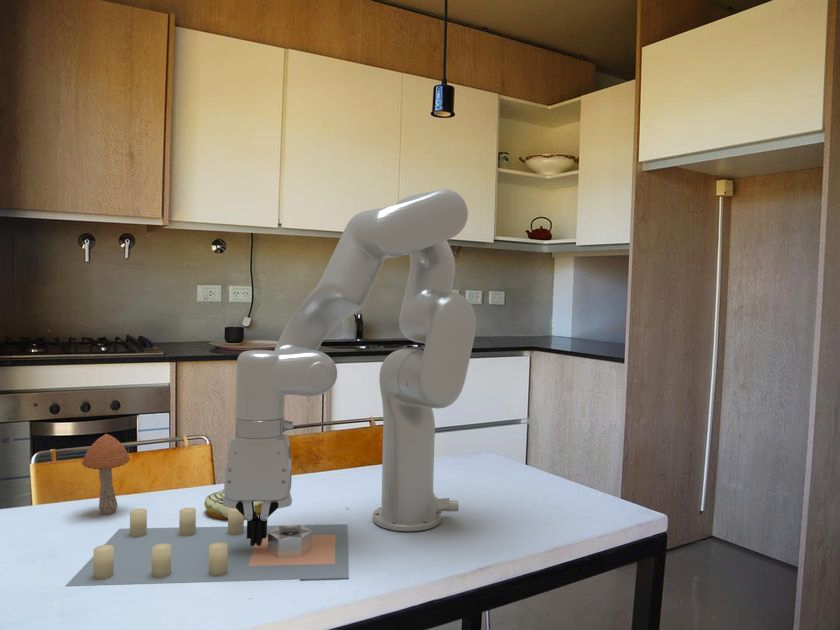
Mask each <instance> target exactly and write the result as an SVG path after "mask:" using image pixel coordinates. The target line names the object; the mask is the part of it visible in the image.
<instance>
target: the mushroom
mask: <svg viewBox="0 0 840 630" xmlns="http://www.w3.org/2000/svg"><path fill="white" fill-rule="evenodd" d="M130 460H131V458H130V456H129V453H128V451H127V449H126V448H125V446H124V445H123V444H122V443H121V442H120V441H119V440H118V439H117V438H115V437H114V436H113V435H111V434H107V433H105V434H104V435H102V436H100V437H98V438H97V439H96V440H95V441H94V442H93V443H92V444H91V446H90V447H89V448H88V449H87V451H86V453H85V455H84V457H83V459H82V461H81V465H82V466H83V467H85V468H88V469H90V470H91V469H92V470H98V475H99V484H100V489H99V490H100V491H99V499H98V500H99V502H98V510H99V512H100V514H101V515H104V516H109V515H114V514H115V513H116V512H117V510H118V509H117V508H118V502H117V497H116V493H115V490H114V486H113V485H114V484H113V473H112V472H113V471H112V470H113V469H115V468H118V467H122V466H125V465H126V464H127V463H129V462H130Z"/></svg>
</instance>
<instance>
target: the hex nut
mask: <svg viewBox="0 0 840 630" xmlns="http://www.w3.org/2000/svg"><path fill="white" fill-rule="evenodd" d="M302 525H303V524H295V525H294V524H291V525H289V524H287V525H286V526H278V525H277V526H278V527H277V528H275V529H274V530H272V531H270V532H269V533H268V552H269V553H271V554H272V555H274V556H275V557H277V558H278V559H280V558H299V557H302V556H303V555H305V554H306V553H307V552H309V551H310V550H311V549H312V531H311V530H309V529H308V528H306V527H304V526H302Z"/></svg>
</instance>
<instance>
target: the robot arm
mask: <svg viewBox="0 0 840 630" xmlns="http://www.w3.org/2000/svg"><path fill="white" fill-rule="evenodd" d="M468 217H469V209H468V205H467V203H466V202H465V199H464V198H463V197H462V196H461V195H460V193H458V192H456V191H454V190H452V189H451V190H450V189H444V188H442V189H441V188H440V189H436V190H431V191H427V192H423V193H422V192H420V193H415V194H412V195H409V196H405V197H404V198H402V199H400V200H399V201H398V202H396V204H393V205H390V206H384V207H379V208H373V209H368V210H363V211H361V212H359V213H356V214H355V215H353V216H352V217H351V219H350V220H349V221H348V222H347V224H346V226H345V228H344V230H343V232H342V234H341V236H340V238H339V241H337V245H336V247H335V249H334V252H333V253H332V255H331V257H330V260H329V262H328V263H327V265H326V268H325V270H324V272H323V274H322V276H321V277H320V280H319V281H318V284H317V285H316V286H315V288H314V289H313V290H312V291H311V292H310V293H309V295H308V296H307V297H306V298H305V300H304V301H303V302H302V303H301V305H300V306H299V307H298V308H297V309H296V310H295V312H294V313H293V315H291V317H290V318H289V320H288V322H287V324H286V326H285V327H284V329H283V331H282V333H281V335H280V338H279V339H278V341H277V343H276V346H275V348H274V350H268V349H267V350H266V349H265V350H263V349H256V350H255V349H252V350H246V351H242V352H241V353H240V354H239V355H238V357H237V360H236V382H235V383H236V386H235V387H236V389H235V390H236V391H235V420H234V422H235V425H234V431H235V433H234V434H232V435H231V437H230V440H229V445H228V450H227V454H226V462H225V464H226V465H225V473H224V488H223V490H224V494H225V496H224V500H223V506H225V507H229V508H233V509H234V508H235V509H237V510H238V511H239V512H240V513H241V514H242V515H243V516H244V517H245V519H244V520H245V521H246V526H247V539H250V546H254V545H255V544H256V545H257V546H261V543H262V540H263V538H266V537H267V526H268V518H270V516H271V515H272V514H274V512H276V510H278V509H283V508H287V507H291V505H292V503H293V498H292V493H291V490H292V451H291V449H292V448H291V443H290V436H289V435H288V434H285V433H286V432H287V431H289V430H293V429H294V421H293V420H287V419H286V418H285V417H286V416H285V403H286V402H285V399H286V397H285V396H286V395H287V396H301V397H318V396H321V395H324V394H325V393H327V392H329V391H330V390H331V389H332V388H333V387H334V385H335V384H336V383H337V382H336V381H337V378H338V369H337V365H336V363H335V361H334V360H333V358H331V357H330V356H329V355H328V354H326V353H325V352H322V351H320V350H319V348H320V346H321V345H322V343H323V341H324V340H325V338H326V337H327V335H329V333H330V332H331V331H332V330H333V329H334V328H335V327H336V326H337V325H339V324H340V323H341V322H342V321H345V320H346V319H349V317H351V316H352V315H354V314H356V313H357V312H359V310H361V309H362V308H363V306H364V305H365V304H366V302H367V299H368V297H369V295H370V293H371V290H372V289H373V286H374V284H375V282H376V279H377V277H378V275H379V272H380V270H381V269H382V267H383V264H384V262H385V260H386V259H394V258H395V259H396V258H400V257H404V256H409V271H408V278H407V283H406V286H405V291H404V295H403V299H402V303H401V308H400V313H399V318H398V319H399V320H398V325H399V329H400V332H401V334H402V336H404V337H405V338H406V339H407V340H409V341H412V342H415V343H420V344H424V348H423V350H422V349H415V348H414V349H413V348H400V349H397V350H395V351H392V352H391V353H390V354H388V355H387V356H386V357H385V359H384V360H383V362H382V363H381V365H380V370H379V378H378V380H379V389H380V394H381V395H380V396H381V402H382V403H381V404H382V415H383V416H382V417H383V418H382V421H383V425H382V427H383V428H382V429H383V430H382V459H381V460H382V462H381V463H382V465H381V468H382V471H381V473H382V474H381V506H379V507H378V508H376V509H375V510H374V511H373V513H372V521H373V522H374V523H375V525H377V526H379V527H381V528H384V529H387V530H391V531H398V532H419V531H420V532H421V531H427V530H429V529H432V528H435V527H436V526H439V524H440V523H441V521H442V512H448V513H449V512H459V500H450V498H449V497H442V498H438V497H437V496H436V495H435V493H434V475H435V474H434V472H435V468H434V467H435V466H434V465H435V464H434V463H435V439H436V434H435V433H436V423H435V416H434V411H433V409H445V408H447V407H449V406H452V404H454V403H455V402H456V401H457V400H458V398H459V397H460V395H461V393H462V391H463V388H464V385H465V381H466V379H467V373H468V368H469V365H470V359H471V354H472V350H473V346H474V342H475V341H474V340H475V336H476V335H475V334H476V331H477V330H476V329H477V319H476V318H477V317H476V313H475V311H474V307H473V306H472V303H471V302H470V301H469V300H468V299H467V298H466V297H465V296H463V295H462V294H459V293H456V292H453V287H454V281H455V280H454V279H455V276H456V275H455V274H456V260H455V256H454V253H453V250H452V248H451V246H450V243H449V242H448V240H451V239H452V238H454V237H456V236H458V235H459V234H460V233H461V232H462V230H463V229H464V228H465V226H466V225H467V222H468V219H469V218H468ZM254 501H263V504H262V509H261V512H260V513H259V514H258V515H256V512H255V508H254Z"/></svg>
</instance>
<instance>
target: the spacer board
mask: <svg viewBox="0 0 840 630" xmlns="http://www.w3.org/2000/svg"><path fill="white" fill-rule="evenodd" d="M147 519H148V509H146V508H135V509H132V510H130V512H129V528H118V530H117V531H116V532H114V534H113V535H112V536H111V537H110V538H109V539H108V540H107V541H106V542H105V544H102V545H99V546H96V547H94V548H93V556H92V557H91V558H90V559H89V560H88V561H87V562H86V564H85V565H83V567H82V568H81V569H79V571H77V573H76V574H75V575H74V576H73V577H72V578H71V579H70V580H69V581H68V582H67V584H66V585H65V587H85V586H87V587H92V586H93V587H94V586H119V585H120V586H122V585H123V586H125V585H129V586H130V585H157V584H158V585H160V584H162V585H163V584H164V585H165V584H188V583H189V584H193V583H222V582H223V583H224V582H225V583H226V582H249V581H250V582H254V581H255V582H256V581H257V582H258V581H259V582H260V581H262V582H264V581H288V580H289V581H291V580H294V581H295V580H299V581H323V580H326V581H327V580H329V581H330V580H348V579H349V552H348V551H349V548H348V547H349V544H348V543H349V542H348V524H347V523H342V524H341V523H335V524H332V523H331V524H301V525H302V526H304V527H306V528H308V529H309V530H311V531H312V549H311V550H310V551H309V552H307V553H306V554H305V555H303V556H302V557H299V558H280V559H278V558H277V557H275V556H274V555H272V554H271V553H269V552H268V533H269V532H270V531H272V530H274V529H275V528H277V527H278V526H286V525H285V524H284V525H278V524H277V525H267V537H266V538H263V540H262V543H261V546H257V545H256V544H255V545H254V546H250V539H247V525H244V523H245V519H244V516H243V515H242V514H241V513H240V512H239V511H238V510H237V509H235V508H234V509H233V508H230V509H228V519H227V526H196V525H197V524H196V522H197V520H196V519H197V509H196V508H195V507H185V508H181V509H180V510H179V519H178V520H179V522H178V523H179V527H148V526H147V525H148V524H147V523H148V520H147Z"/></svg>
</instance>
